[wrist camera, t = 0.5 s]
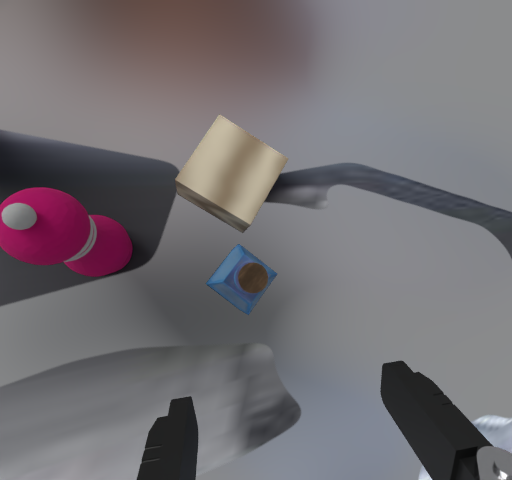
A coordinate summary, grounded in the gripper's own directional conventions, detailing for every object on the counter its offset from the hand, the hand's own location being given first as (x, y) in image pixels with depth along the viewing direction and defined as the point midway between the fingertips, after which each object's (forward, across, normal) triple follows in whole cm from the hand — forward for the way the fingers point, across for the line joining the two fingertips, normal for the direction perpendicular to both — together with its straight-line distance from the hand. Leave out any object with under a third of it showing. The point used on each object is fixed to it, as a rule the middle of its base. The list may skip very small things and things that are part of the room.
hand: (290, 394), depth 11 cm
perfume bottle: (+28, +2, +8) cm, 29 cm away
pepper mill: (+28, +18, +2) cm, 34 cm away
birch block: (+34, +1, -5) cm, 35 cm away
